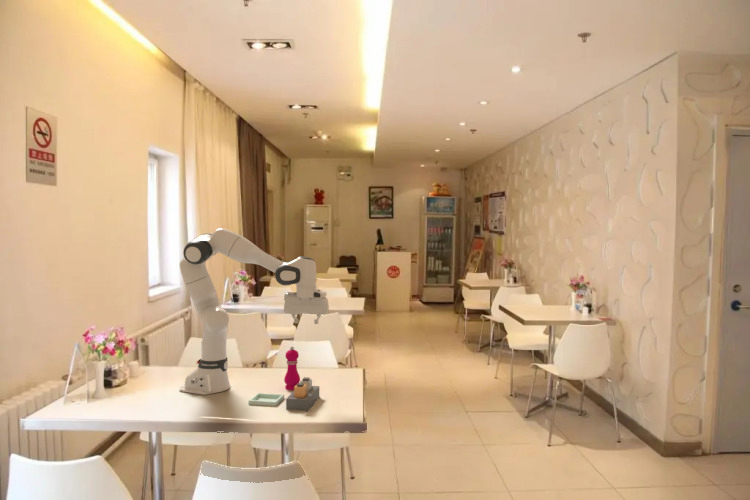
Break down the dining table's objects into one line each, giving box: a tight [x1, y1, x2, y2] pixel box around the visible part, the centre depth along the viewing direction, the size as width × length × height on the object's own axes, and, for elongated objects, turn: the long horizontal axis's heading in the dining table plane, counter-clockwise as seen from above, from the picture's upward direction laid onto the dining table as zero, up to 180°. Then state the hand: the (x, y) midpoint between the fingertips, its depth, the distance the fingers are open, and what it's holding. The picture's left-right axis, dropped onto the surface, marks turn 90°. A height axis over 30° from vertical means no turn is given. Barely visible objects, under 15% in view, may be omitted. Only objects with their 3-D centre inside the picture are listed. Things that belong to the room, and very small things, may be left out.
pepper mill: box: [283, 346, 301, 391], centre depth 231 cm, size 7×7×20 cm
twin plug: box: [299, 376, 313, 391], centre depth 216 cm, size 4×4×8 cm
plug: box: [293, 382, 307, 398], centre depth 208 cm, size 4×4×8 cm
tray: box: [248, 392, 285, 407], centre depth 213 cm, size 12×10×2 cm
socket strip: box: [285, 385, 320, 413], centre depth 212 cm, size 9×18×5 cm, turn 171°
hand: (306, 323), depth 224 cm, fingers open, 8 cm apart
